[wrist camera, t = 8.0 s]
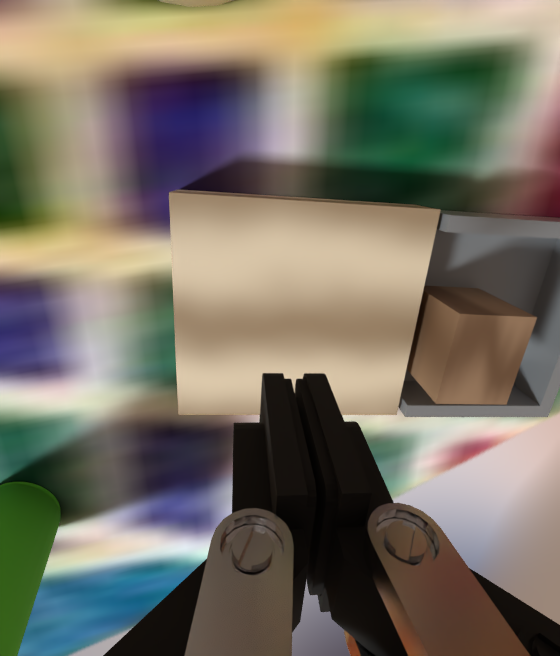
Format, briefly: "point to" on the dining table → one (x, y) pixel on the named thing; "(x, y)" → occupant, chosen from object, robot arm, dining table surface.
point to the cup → (23, 555)
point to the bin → (508, 285)
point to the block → (468, 345)
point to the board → (294, 296)
